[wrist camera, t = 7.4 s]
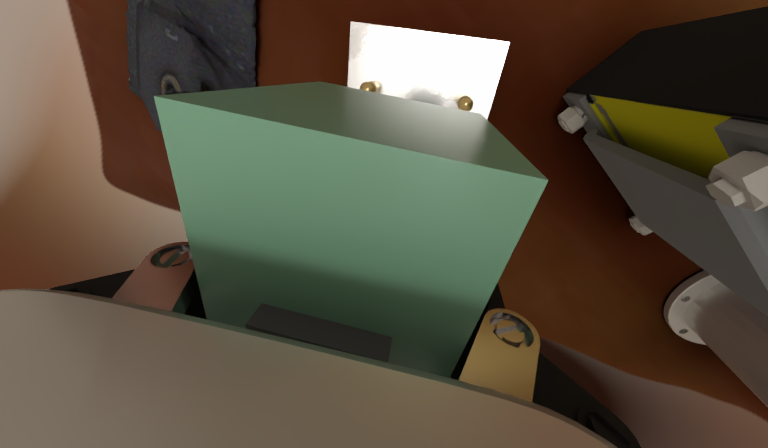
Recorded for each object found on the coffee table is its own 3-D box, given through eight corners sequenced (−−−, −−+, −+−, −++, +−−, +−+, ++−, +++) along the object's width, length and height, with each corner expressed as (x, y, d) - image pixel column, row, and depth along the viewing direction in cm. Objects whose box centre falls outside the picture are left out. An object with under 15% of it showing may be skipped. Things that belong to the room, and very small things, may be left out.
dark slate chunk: (295, -61, 24) (265, -88, 20) (252, 162, 35) (228, 175, 31) (124, -154, 23) (55, -204, 19) (137, 106, 34) (95, 111, 30)
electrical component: (543, 106, 26) (748, 176, 9) (668, 10, 22) (1581, -233, 4) (631, 231, 30) (885, 440, 13) (751, 172, 26) (1378, 373, 9)
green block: (480, 113, 10) (565, 197, 3) (417, 307, 15) (402, 492, 8) (320, 81, 10) (113, 99, 4) (312, 280, 15) (217, 438, 9)
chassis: (507, 43, 24) (520, 37, 20) (456, 219, 33) (458, 239, 29) (353, 23, 25) (338, 14, 22) (344, 198, 34) (332, 215, 31)
